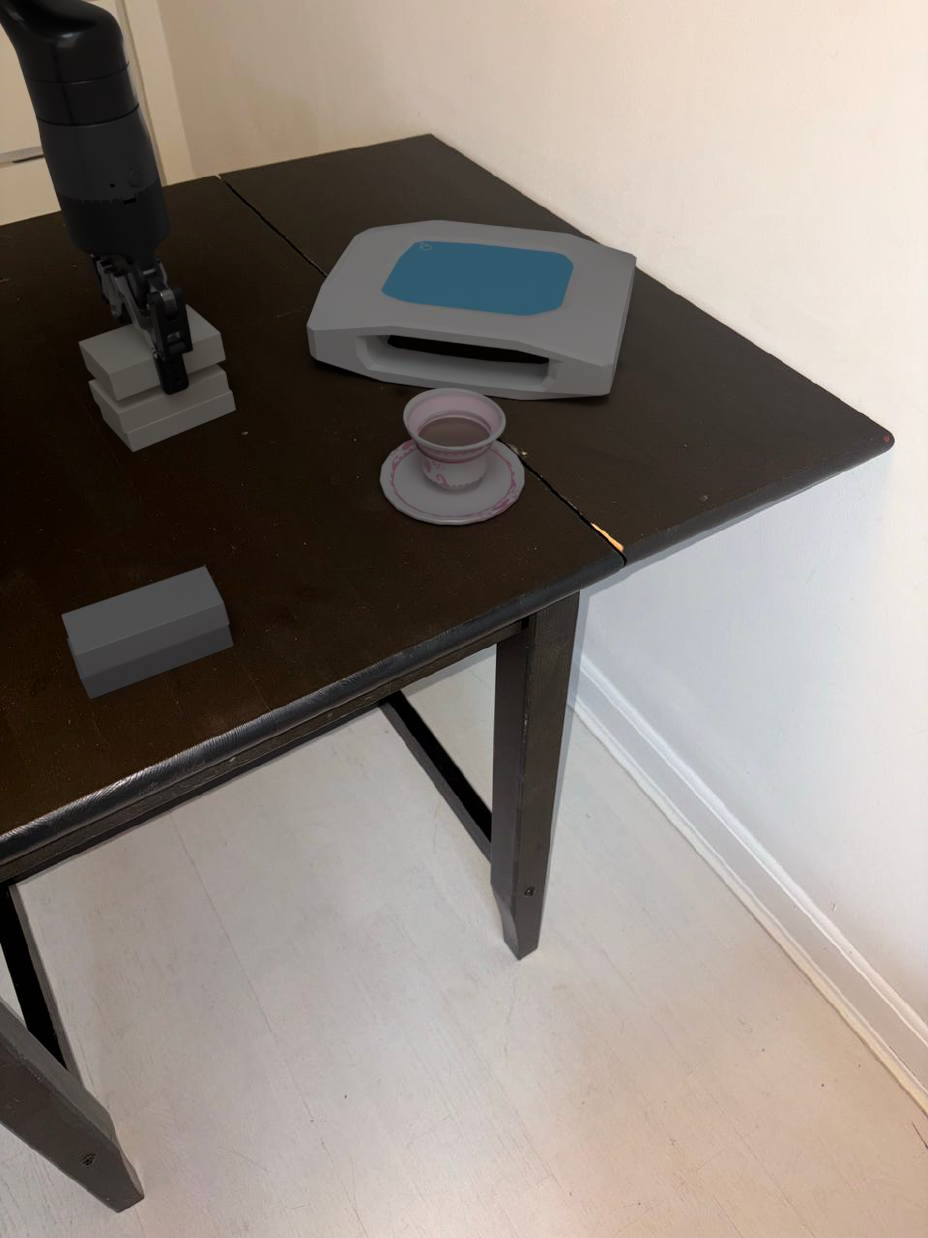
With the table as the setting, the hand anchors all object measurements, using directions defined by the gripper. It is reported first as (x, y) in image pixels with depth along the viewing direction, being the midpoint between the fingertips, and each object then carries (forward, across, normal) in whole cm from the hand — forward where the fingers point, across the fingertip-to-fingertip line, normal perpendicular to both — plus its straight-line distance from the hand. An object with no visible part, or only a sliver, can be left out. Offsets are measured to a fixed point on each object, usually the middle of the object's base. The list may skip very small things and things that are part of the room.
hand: (158, 372), depth 82 cm
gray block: (+4, +25, -14) cm, 29 cm away
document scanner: (+5, +6, +30) cm, 31 cm away
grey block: (+4, 0, 0) cm, 4 cm away
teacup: (+5, +23, +14) cm, 27 cm away
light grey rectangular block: (-1, 0, 0) cm, 1 cm away
